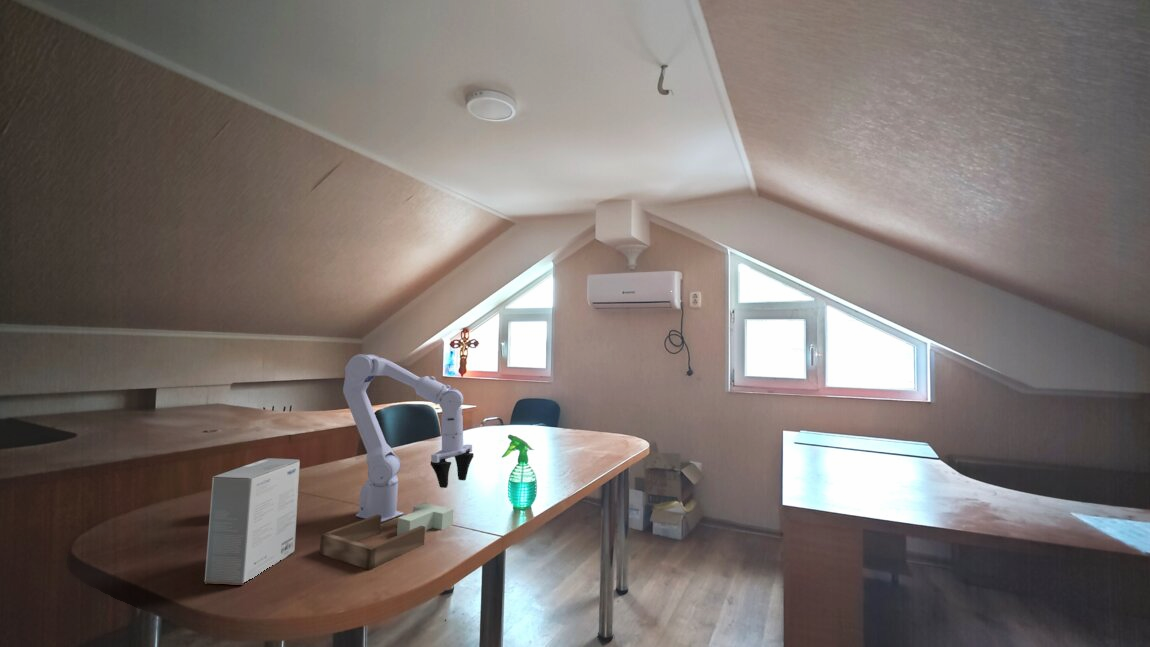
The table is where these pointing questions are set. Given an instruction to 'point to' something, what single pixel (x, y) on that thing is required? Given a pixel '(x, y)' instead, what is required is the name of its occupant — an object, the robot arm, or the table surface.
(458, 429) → the robot arm
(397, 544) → the wooden tray
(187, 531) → the table surface
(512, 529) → the table surface
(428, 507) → the t block
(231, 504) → the hard drive box
